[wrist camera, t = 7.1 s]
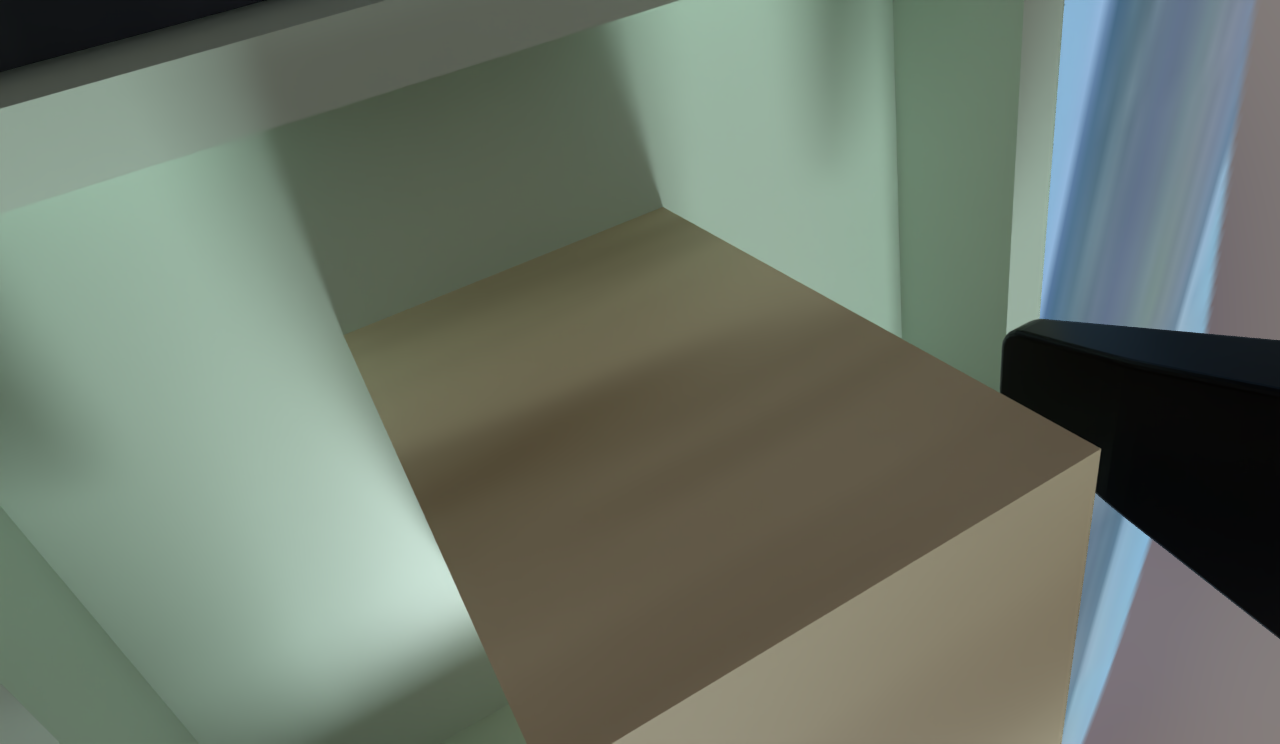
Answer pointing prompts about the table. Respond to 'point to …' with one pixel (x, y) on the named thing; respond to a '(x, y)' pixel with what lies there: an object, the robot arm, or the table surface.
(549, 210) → the tray
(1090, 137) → the table surface
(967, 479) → the block
